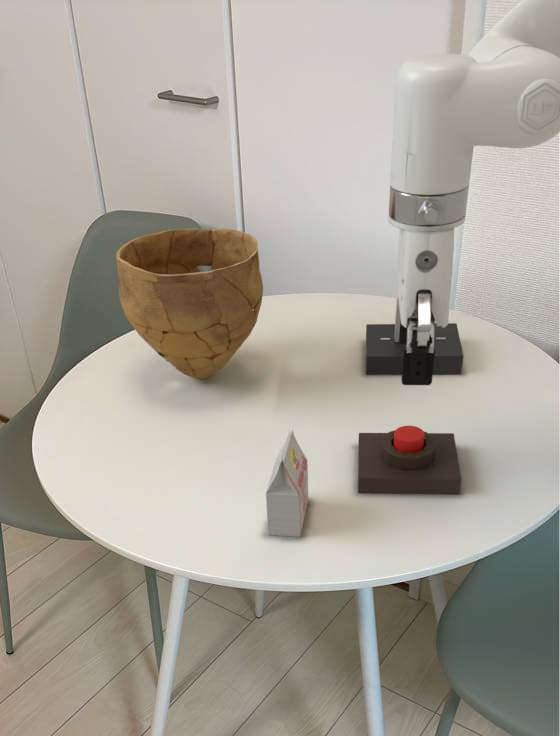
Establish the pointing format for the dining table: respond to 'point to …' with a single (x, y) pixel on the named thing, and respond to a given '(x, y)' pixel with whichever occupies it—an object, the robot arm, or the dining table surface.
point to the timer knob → (397, 322)
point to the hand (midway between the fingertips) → (414, 362)
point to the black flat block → (389, 354)
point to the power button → (409, 439)
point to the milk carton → (288, 490)
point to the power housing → (408, 465)
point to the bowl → (192, 294)
